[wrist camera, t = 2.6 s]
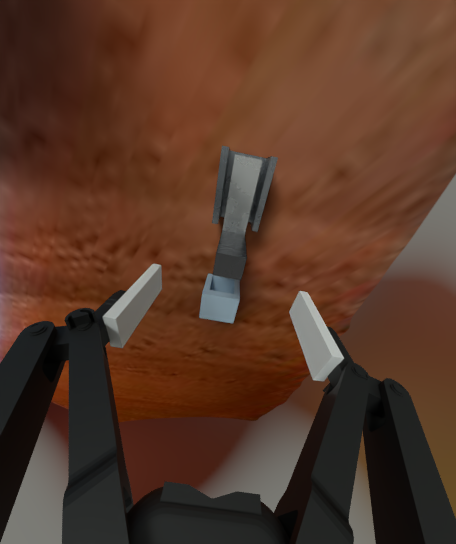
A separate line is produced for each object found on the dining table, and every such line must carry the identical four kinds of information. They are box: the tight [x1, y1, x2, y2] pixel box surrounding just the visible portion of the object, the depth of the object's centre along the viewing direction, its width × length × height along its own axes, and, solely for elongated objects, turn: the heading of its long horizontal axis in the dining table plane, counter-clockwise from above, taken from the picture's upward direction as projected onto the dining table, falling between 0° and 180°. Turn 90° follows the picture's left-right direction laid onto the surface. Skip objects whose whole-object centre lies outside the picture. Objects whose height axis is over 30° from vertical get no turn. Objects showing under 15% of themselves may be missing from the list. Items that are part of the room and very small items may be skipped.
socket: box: [199, 274, 240, 323], centre depth 34 cm, size 6×7×7 cm
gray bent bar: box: [213, 154, 262, 280], centre depth 23 cm, size 16×3×11 cm, turn 170°
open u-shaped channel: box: [212, 146, 278, 232], centre depth 24 cm, size 9×7×5 cm
